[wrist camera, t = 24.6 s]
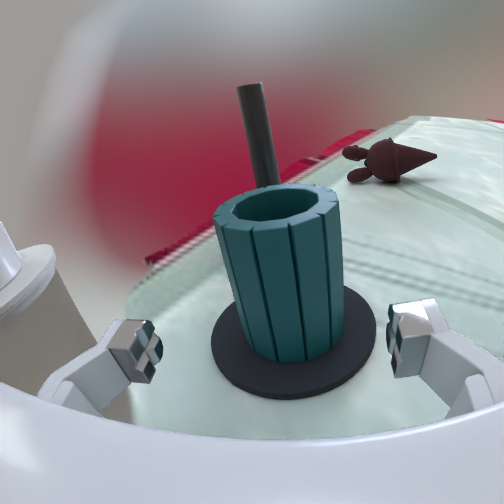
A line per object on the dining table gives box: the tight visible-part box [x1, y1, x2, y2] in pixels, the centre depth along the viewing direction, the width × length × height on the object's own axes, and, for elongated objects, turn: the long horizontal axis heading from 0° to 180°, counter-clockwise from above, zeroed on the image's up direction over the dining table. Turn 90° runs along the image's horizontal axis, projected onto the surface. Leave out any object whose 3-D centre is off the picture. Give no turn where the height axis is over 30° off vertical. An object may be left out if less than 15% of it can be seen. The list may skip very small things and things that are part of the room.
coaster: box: [211, 286, 376, 399], centre depth 20 cm, size 11×11×1 cm
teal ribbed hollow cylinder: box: [213, 183, 344, 363], centre depth 18 cm, size 6×6×8 cm
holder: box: [236, 83, 281, 189], centre depth 29 cm, size 10×10×16 cm
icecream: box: [342, 138, 437, 183], centre depth 41 cm, size 7×7×15 cm
